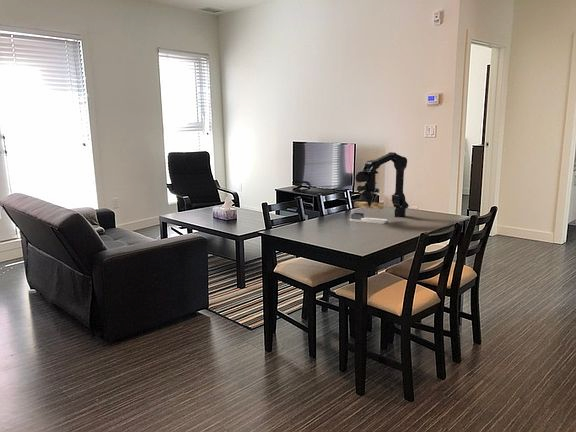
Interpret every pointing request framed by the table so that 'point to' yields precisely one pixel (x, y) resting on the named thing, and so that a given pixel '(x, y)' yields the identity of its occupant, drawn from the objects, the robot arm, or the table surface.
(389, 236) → the table surface
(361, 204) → the oak rail
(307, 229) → the table surface
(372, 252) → the table surface
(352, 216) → the bracket plate
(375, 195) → the robot arm
